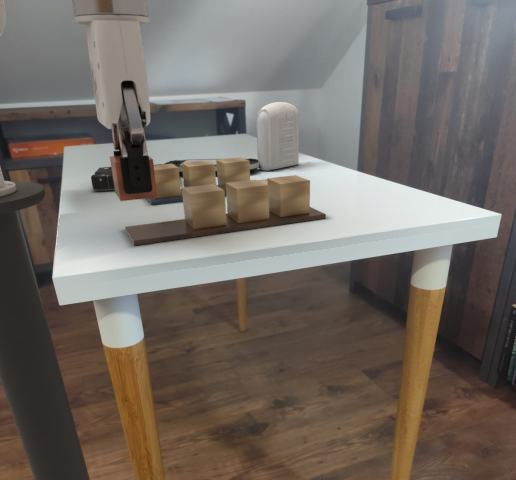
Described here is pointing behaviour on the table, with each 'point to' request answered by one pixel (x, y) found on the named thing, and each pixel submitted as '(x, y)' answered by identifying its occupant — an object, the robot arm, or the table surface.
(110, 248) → the table surface
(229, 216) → the front word
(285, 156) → the white rounded slab
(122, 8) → the robot arm
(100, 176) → the disk drive
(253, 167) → the gaming console
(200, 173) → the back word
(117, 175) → the reddish wooden cube
